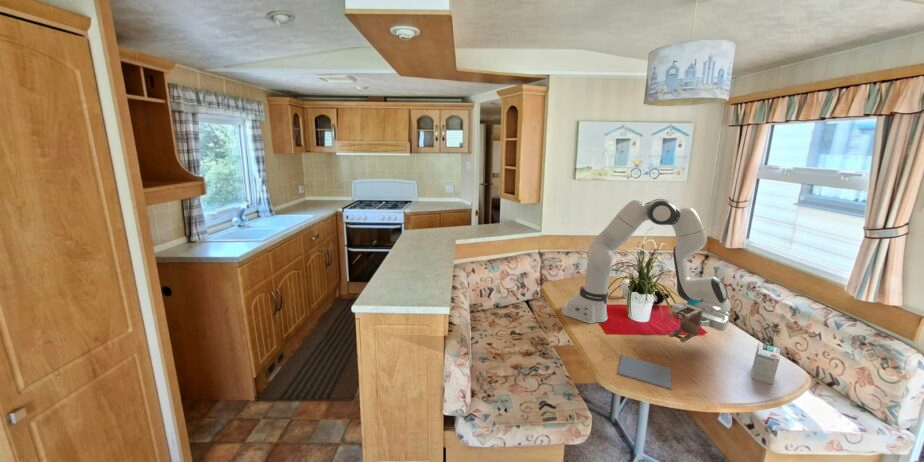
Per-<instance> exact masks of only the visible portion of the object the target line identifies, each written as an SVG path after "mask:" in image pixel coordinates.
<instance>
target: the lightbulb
mask: <svg viewBox="0 0 924 462" xmlns="http://www.w3.org/2000/svg"><path fill="white" fill-rule="evenodd" d="M629 280H630V279H622V280H621V282H620V283H619V284H620V285H621V286H620V289H621V290H622V298H624V299H626V298H628V296H627V294H628V295H629V292H628V283H629Z"/></svg>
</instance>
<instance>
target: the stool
mask: <svg viewBox="0 0 924 462" xmlns="http://www.w3.org/2000/svg"><path fill="white" fill-rule="evenodd" d="M702 311H703V310H702V309H699V308H696V307H693V306H690V305H684V306H683V307H681V308H679V309H677V310H675V311H673V312H672V315H675V316H679V315H682V319H681V318H680V319H681V320H680V325H679V328H677V329H675V330H673V331H671V332H669V334H668V337H670V338H676V339H679V341H680V342H681V343H685V342H687V341H689V340H690V339H692V338H694V337H697V336H698V335H699V330H700V326H699V325H698V322H699V321H700V320H701V316H702ZM682 312H683V313H682ZM677 314H679V315H677ZM681 333H685V334H686V335H684V336H681V335H679V334H681Z"/></svg>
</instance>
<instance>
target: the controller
mask: <svg viewBox="0 0 924 462" xmlns="http://www.w3.org/2000/svg"><path fill="white" fill-rule="evenodd" d="M664 293H665V296H666V299H664V298H663V296H662V295H661V294H660V292H659V291H655V295H654V297H656V300H655V301H654V304H653V305H660V304H662V303H664V300H667V299H669V298H670V295H669V293H666V292H664Z"/></svg>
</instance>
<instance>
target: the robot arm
mask: <svg viewBox="0 0 924 462" xmlns="http://www.w3.org/2000/svg"><path fill="white" fill-rule="evenodd" d="M649 220H650V222H652V223H653V224H655V225H659V226H671V227H672V228H673V231H674V234H675V237H676V245H675V246H674V247H673V251H672V252H673V256H672V257H673V263H674V268H675V276H676V291H677V295H678V296H679V297H680V298H681V299H683V300H684V301H686V302H676V303H673V304H672V307H671V313H673V311H675V310H677V309H679V308H681V307H683V306H684V305H689V304H687V301H694V300H701V302H700V303H698V304H696V305H695V306H693V307H696V308H699V309H702V310H703V311H702V316H701V320H700V321H699V322H698V325H699V327H701V328H702V327H709V328H712V329H714V330H717V331H719V332H724V331H726V330H727V328H728V325H729V322H730V318H731V317H730V313H729V312H730V309H731V305H732V304H731V302H730V300H729V299H728V297H729V296H728V290H727V287H726V284H725V283H724V282H723V280H722V279H720V278H718V277H716V276H710V277H709V276H706V277H698V278H691V277H690V275H689V269H688V262H687V261H688V258H689V257H691V256H692V255H693V254H696V253H698V252H699V251H701V250H702V249H704V247H705V246H706V243H707V241H708V240H707V239H708V237H707V233H706V231H705V228H704V225H703V223H702V220H701V218H700V217H699V214H698V213H697V211H696V210H695V209H694V208H690V207H681V208H678V207H676V206H675V205H674V204H673V203H672V202H671V201H670V200H668V199H665V198H657V199H653V200H651V201H649V202H646V203H644V202H643V201H640V200H636V199H635V200H631V201H629V202H628V203H626V205H625V206H623V208H621V209H620V211H619V212H617V214H616V215H615V217H614V218H612V220H611V221H610V222H609V224H608V225H607V226H606V227H605V228H604V229H603V230H602V231H601V232H600V233H599V234H598V235H597V236H596V237H595V238H594V239H593V240H592V241H591V242H590V243H589V245H588V249H587V250H588V255H587V263H586V271H585V276H584V277H585V278H584V279H585V280H584V285H583V284H582V285H581V286H580V287H579V293H578V294H575V295H574V296H571V297H570V298H569V300H568V301H567V303H566V304H564V305H563V306H562V308H561V311H560V312H561V314H562V315H563V316H566V317H568V318H571V319H575V320H578V321H580V322H584V323H587V324H594V323H595V324H596V323H604V322H606V321H607V320H608V312H607V303H608V300H609V299H608V298H609V291H608V290H609V284H610V283H609V282H610V276H611V271H612V265H613V261H614V260H613V259H614V253H615V251H616V250H617V249H618V248H620V247H621V246H622V245H623V244H624V243H626V242H627V241H628V240H629V239H630V238H631V237H632V236H633V234H634V233H635V232H636V230H638V228H639V227H640V226H641V225H642V224H643V223H644V222H646V221H649ZM690 306H692V305H690ZM682 313H683V312H682ZM676 316H678V318H679V319H682V315H679V314H677V315H676Z"/></svg>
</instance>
